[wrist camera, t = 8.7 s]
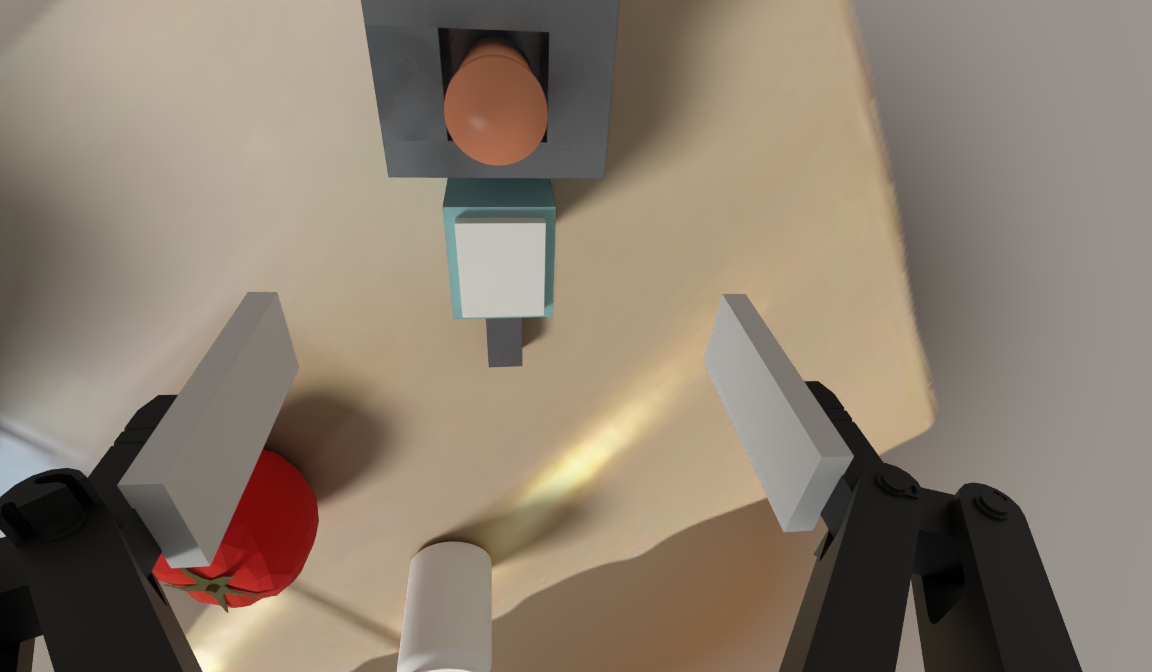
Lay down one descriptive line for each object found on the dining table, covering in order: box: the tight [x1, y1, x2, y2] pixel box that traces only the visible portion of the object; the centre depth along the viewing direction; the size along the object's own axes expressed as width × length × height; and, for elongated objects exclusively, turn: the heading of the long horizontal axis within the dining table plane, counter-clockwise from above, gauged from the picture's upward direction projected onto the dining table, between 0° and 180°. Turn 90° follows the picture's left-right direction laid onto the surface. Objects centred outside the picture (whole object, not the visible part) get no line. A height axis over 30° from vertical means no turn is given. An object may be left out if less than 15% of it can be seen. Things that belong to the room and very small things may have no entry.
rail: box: [486, 318, 522, 367], centre depth 35 cm, size 2×17×2 cm, turn 177°
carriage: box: [443, 178, 556, 319], centre depth 29 cm, size 5×6×9 cm
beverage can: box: [397, 542, 492, 672], centre depth 52 cm, size 8×8×12 cm
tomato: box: [152, 449, 319, 613], centre depth 42 cm, size 11×13×10 cm
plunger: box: [444, 36, 548, 166], centre depth 20 cm, size 3×3×6 cm
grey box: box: [361, 0, 619, 179], centre depth 25 cm, size 9×7×10 cm
